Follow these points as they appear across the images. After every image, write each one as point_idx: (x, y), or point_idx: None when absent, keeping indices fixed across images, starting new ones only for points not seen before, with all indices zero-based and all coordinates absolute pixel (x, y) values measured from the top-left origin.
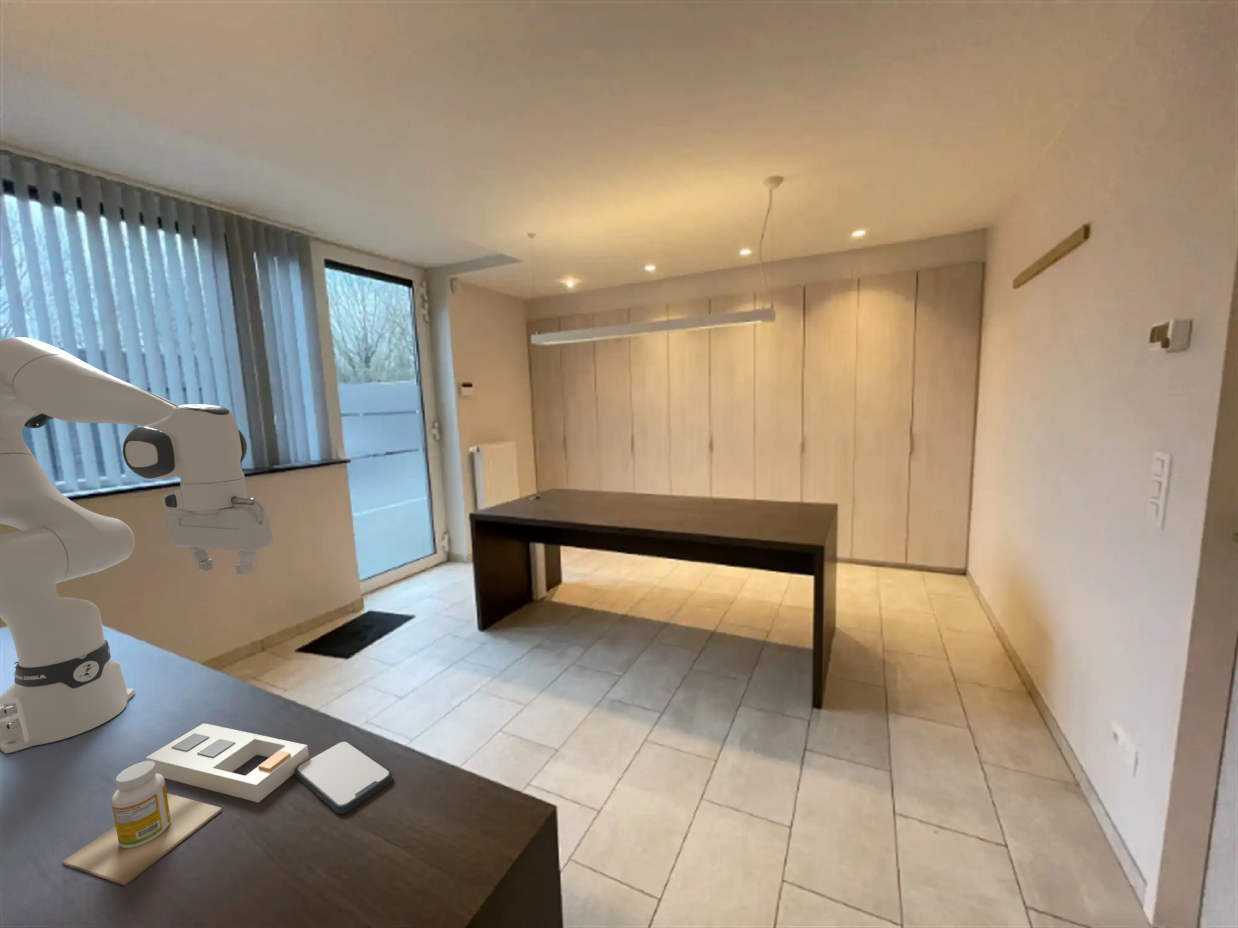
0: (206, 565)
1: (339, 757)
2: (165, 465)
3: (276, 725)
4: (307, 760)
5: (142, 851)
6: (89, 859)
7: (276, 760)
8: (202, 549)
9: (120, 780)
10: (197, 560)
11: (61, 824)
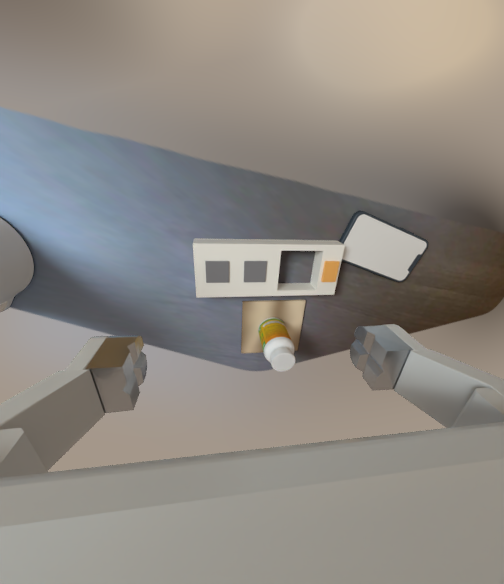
0: (134, 372)
1: (370, 236)
2: None
3: (255, 200)
4: None
5: None
6: (257, 348)
7: (333, 272)
8: (33, 462)
9: (282, 370)
10: (92, 421)
11: (196, 337)
